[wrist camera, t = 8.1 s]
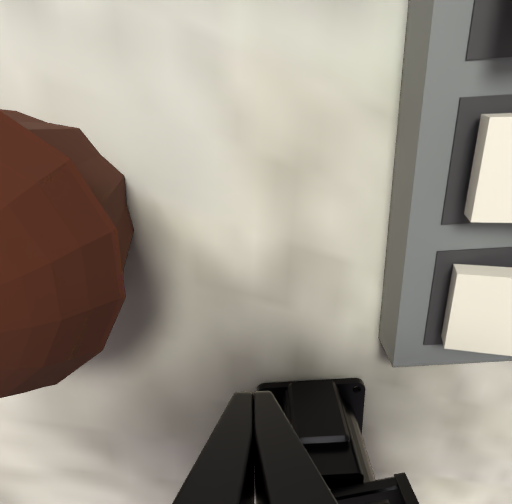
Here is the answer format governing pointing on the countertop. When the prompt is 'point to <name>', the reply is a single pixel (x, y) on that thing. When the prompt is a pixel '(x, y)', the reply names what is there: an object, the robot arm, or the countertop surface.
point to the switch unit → (442, 171)
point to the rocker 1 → (491, 172)
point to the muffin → (56, 251)
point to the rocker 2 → (479, 310)
